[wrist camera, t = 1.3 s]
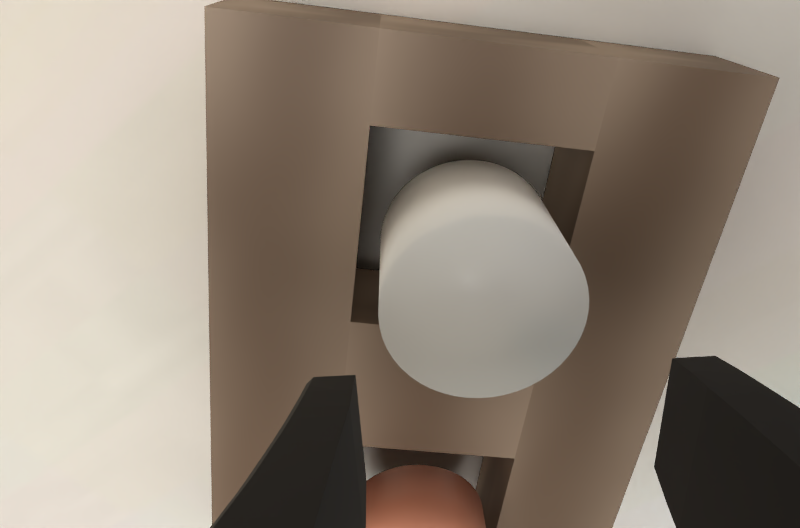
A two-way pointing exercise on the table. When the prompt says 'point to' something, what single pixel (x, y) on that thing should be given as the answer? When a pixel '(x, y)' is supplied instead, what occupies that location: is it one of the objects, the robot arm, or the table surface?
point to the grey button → (477, 282)
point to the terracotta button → (422, 499)
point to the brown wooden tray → (359, 288)
